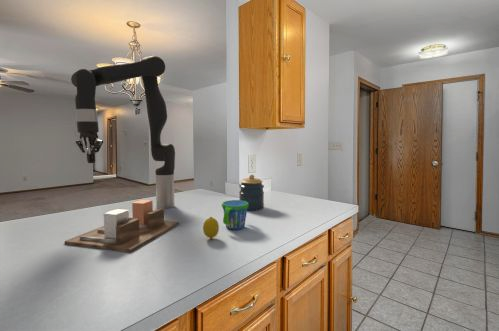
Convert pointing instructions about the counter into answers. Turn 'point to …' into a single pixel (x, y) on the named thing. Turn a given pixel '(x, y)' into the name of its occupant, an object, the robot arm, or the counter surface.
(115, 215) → the steel slider
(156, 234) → the board
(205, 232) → the lemon
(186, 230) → the counter surface
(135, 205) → the terracotta slider
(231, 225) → the snack cup
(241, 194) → the canister
